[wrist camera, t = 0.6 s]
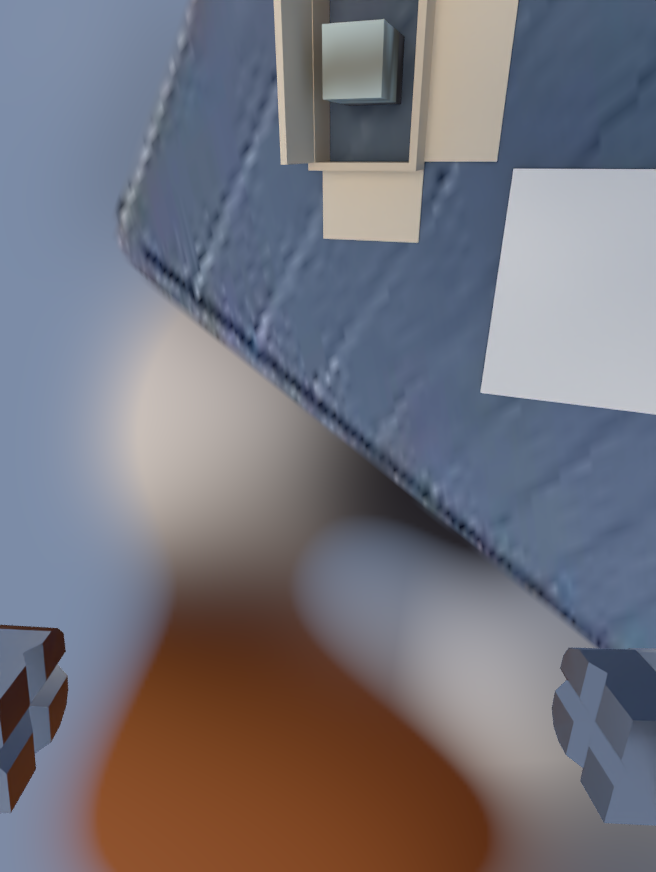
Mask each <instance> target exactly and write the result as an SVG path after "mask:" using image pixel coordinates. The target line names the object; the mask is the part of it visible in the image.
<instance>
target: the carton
mask: <svg viewBox="0 0 656 872" xmlns="http://www.w3.org/2000/svg"><path fill="white" fill-rule="evenodd" d="M518 1H519V0H419V6H418V22H417V38H416V55H415V71H414V87H413V104H412V120H411V136H410V152H409V162H386V161H330V101H327V100H323V81H322V24H329V23H330V5H329V0H274V17H275V40H276V63H277V86H278V108H279V131H280V154H281V165H288V164H301V163H308V168H309V170H313V171H323V239H345V240H367V241H389V242H411V243H418V242H419V231H420V218H421V204H422V191H423V177H424V164H425V162H497V158H498V150H499V143H500V136H501V128H502V121H503V113H504V106H505V98H506V91H507V83H508V76H509V68H510V61H511V53H512V46H513V38H514V31H515V23H516V16H517V8H518Z"/></svg>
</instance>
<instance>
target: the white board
mask: <svg viewBox="0 0 656 872" xmlns="http://www.w3.org/2000/svg"><path fill="white" fill-rule="evenodd" d="M480 393H486V394H494V395H502V396H510V397H518V398H526V399H534V400H543V401H551V402H559V403H567V404H575V405H583V406H591V407H599V408H608V409H616V410H624V411H632V412H640V413H648V414H656V169H522V168H514V169H513V176H512V182H511V189H510V196H509V203H508V209H507V216H506V223H505V230H504V236H503V243H502V250H501V257H500V263H499V270H498V277H497V284H496V290H495V297H494V304H493V311H492V317H491V324H490V331H489V338H488V344H487V351H486V358H485V365H484V371H483V378H482V385H481V391H480Z"/></svg>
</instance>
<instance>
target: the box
mask: <svg viewBox="0 0 656 872" xmlns="http://www.w3.org/2000/svg"><path fill="white" fill-rule="evenodd" d="M403 55H404V36H403V35H402V34H400V33H399V32H398V31H397V30H396V29H395V28H394V27H392V26H391V25H390V24H389V23H388V22H387V21H386V20H385V19H380V20H368V21H355V22H342V23H329V24H322V81H323V100H327V101H331V102H335V103H340V104H344V105H349V106H353V105H386V104H401V93H402V74H403Z"/></svg>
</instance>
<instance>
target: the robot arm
mask: <svg viewBox="0 0 656 872" xmlns="http://www.w3.org/2000/svg"><path fill="white" fill-rule="evenodd" d="M65 652H66V650H65V641H64V634H63V632H62V631H60V629H58V628H48V627H31V626H13V625H0V813H11V812H12V810H13V809H14V807H15V805H16V803H17V801H18V800H19V798H20V796H21V795H22V793H23V791H24V789H25V788H26V786H27V784H28V782H29V781H30V779H31V777H32V775H33V774H34V772H35V770H36V763H35V753H37V752H38V751H39V750H41V749H42V748H44V747H45V746H47V745H48V744H49V743H51V742H52V740H53V738H54V736H55V734H56V732H57V730H58V729H59V727H60V724H61V721H62V718H63V715H64V711H65V708H66V705H67V696H68V677H67V674H66V673H65V672H64V671H63V670H62V669H61V668H60V666H59V665H58V662H59V661H60V659H61V657H62V656H63V655H64V653H65ZM560 669H561V671H562V672H563V674H564V676H565V678H566V681H565V682H564V683H563V684H562V685H561V686H560V687H559V688H558V689H557V690H556V691H555V694H554V699H553V705H552V715H553V725H554V729H555V732H556V735H557V738H558V741H559V743H560V744H561V747H562V748H563V750H564V752H565V754H566V755H567V756H568V757H569V758H571V759H572V760H573V761H574V762H576V763H577V764H578V765H580V766H581V767H582V768H583V770H582V775H581V783H582V785H583V786H584V788H585V790H586V792H587V793H588V795H589V797H590V799H591V800H592V802H593V804H594V806H595V807H596V809H597V811H598V813H599V814H600V816H601V818H602V820H603V822H604V823H615V824H636V825H656V649H648V648H628V649H597V648H568V650H567V651H566V652H565V654H564V655H563V659H562V663H561V667H560Z"/></svg>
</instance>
